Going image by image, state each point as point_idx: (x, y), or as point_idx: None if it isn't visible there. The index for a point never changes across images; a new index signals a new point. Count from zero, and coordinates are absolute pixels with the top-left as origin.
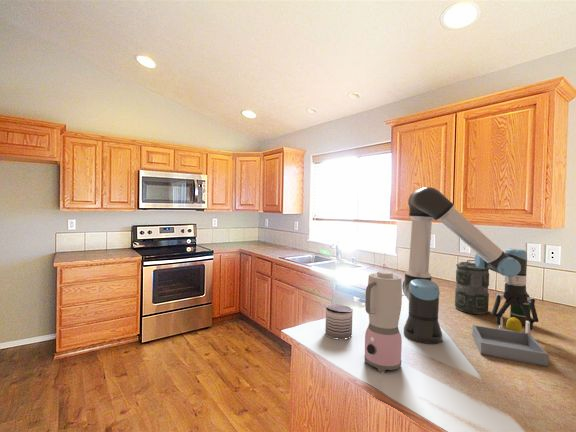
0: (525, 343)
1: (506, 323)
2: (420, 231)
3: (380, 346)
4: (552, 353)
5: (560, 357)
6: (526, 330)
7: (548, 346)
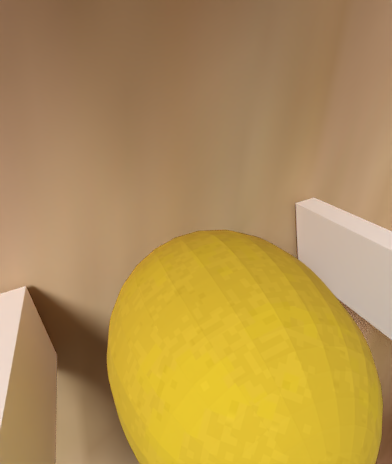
0: None
1: (118, 412)
2: None
3: None
4: None
5: (382, 457)
6: (346, 267)
7: (389, 339)
